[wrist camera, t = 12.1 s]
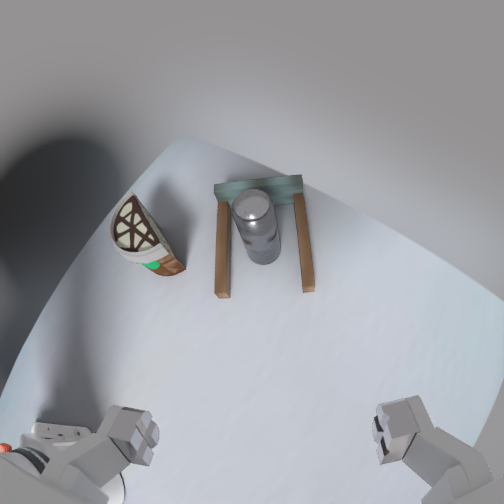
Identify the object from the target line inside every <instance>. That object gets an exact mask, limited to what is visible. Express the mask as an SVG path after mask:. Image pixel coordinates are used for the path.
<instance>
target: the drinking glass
mask: <svg viewBox="0 0 504 504" xmlns="http://www.w3.org/2000/svg"><path fill="white" fill-rule="evenodd" d="M231 212H232V215H233V218H234V220H235V223H236V225H237V228H238V230H239V233H240V235H241V238H242V240H243V243H244V245H245V248H246V250H247V253H248V255H249V257H250V259H251V260H252V261H253V262H255V263H257V264H260V265H266V264H270V263H272V262H274V261H275V260H276V259H277V258H278V256H279V254H280V251H281V247H280V241H279V235H278V228H277V222H276V216H275V210H274V204H273V200H272V198H271V197H270V195H269V194H267V193H266V192H264V191H261V190H258V189H249V190H246V191H243V192H242V193H240V194H239V195H238V196H237V197H236V198H235V199H234V201H233V203H232V206H231Z"/></svg>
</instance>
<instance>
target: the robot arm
mask: <svg viewBox="0 0 504 504" xmlns="http://www.w3.org/2000/svg"><path fill="white" fill-rule="evenodd" d="M376 413H377V416H376V417H374V419H373V424H372V432H373V438H374V441H375V442H376V443H378V444H379V446H378V448H377V454H378V458H379V462H380V465H381V464H386V463H391V462H395V461H399V460H402V461H403V462H404V463H405V464H406V465H407V466H408V467H409V468H411V469H412V470H413V471H414V472H415V473H416V474H417V475H419V476H420V477H421V478H422V479H423V480H424V481H425V482H427V483H428V484H429V485H430V486H431V487H432V488H431V489H430V490H429V491H428V492H427V494H426V495H425V496H424V497H423V498H422V504H504V474H503V475H501V476H499V477H498V478H496V479H493V477H492V474H491V472H490V470H489V467H488V465H487V463H486V460H485V458H484V456H483V454H482V453H481V452H479V451H477V450H476V449H474V448H472V447H471V446H469V445H467V444H465V443H464V442H462V441H460V440H459V439H457V438H455V437H454V436H452V435H450V434H449V433H447V432H445V431H444V430H442V429H440V428H439V427H435V428H434V426H433V424H432V422H431V420H430V418H429V415H428V413H427V411H426V409H425V407H424V404H423V402H422V400H421V398H420V397H419V396H418V395H416V396H412V397H409V398H405V399H404V398H403V399H399V400H395V401H390V402H386V403H381V404H378V406H377V408H376ZM151 419H152V415H151V414H150V412H149V411H145V410H139V409H133V408H128V407H123V406H117V405H113V406H112V407H111V408H110V409H109V411H108V413H107V414H106V416H105V418H104V420H103V421H102V423H101V425H100V427H99V428H98V430H97V432H96V434H95V433H91V431H90V430H89V429H88V428H87V427H80V426H68V425H58V424H50V423H42V422H35V423H34V424H33V426H32V429H31V434H23V435H22V436H21V437H20V440H19V448H18V449H15V450H12V447H11V446H10V445H9V444H6V443H1V444H0V448H1V452H0V504H123V501H124V486H123V482H122V479H121V476H120V474H119V473H120V472H121V471H122V470H124V469H125V468H126V467H127V466H128V465H129V464H130V463H133V464H138V465H143V466H149V465H150V463H151V460H152V457H153V455H154V453H153V451H152V448H154V447H155V446H156V445H157V444H158V441H159V428H158V426H157V424H156V423H155V422H153V421H152V420H151ZM79 433H80V434H79Z"/></svg>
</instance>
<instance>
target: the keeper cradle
mask: <svg viewBox="0 0 504 504" xmlns="http://www.w3.org/2000/svg"><path fill="white" fill-rule="evenodd" d="M249 189H258V190H261V191H264V192H266V193H267V194H269V195H270V197H271V198H272V200H273V204H274V205H281V204H292V203H294V208H295V217H296V226H297V235H298V244H299V254H300V265H301V275H302V287H303V293H304V292H314V288H315V283H314V273H313V264H312V255H311V247H310V239H309V231H308V223H307V216H306V209H305V202H304V195H303V181H302V175H291V176H281V177H271V178H262V179H253V180H245V181H237V182H229V183H222V184H214V194H215V196H216V199H217V201H218V212H217V233H216V259H215V292H214V293H215V294H216V295H217V296H218V297H219V298H230V242H231V206H232V203H233V201H234V199H235V198H236V197H237V196H238V195H239V194H240V193H242V192H243V191H246V190H249Z"/></svg>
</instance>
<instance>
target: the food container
mask: <svg viewBox="0 0 504 504" xmlns="http://www.w3.org/2000/svg"><path fill="white" fill-rule="evenodd" d="M110 235H111V239H112V242H113V244H114V246H115V248H116V249H117V251H118V253H119V254H120V255H121V256H122V257H123V258H125V259H126V260H128V261H130V262H134V263H140V264H142V265H143V266H145V267H147V268H148V269H150V270H151V271H153V272H154V273H156V274H158V275H162V276H172V275H176V274H178V273H181V272H182V271H184V270H186V268H185V267H184V265H183V264H182V262H181V260H180V259H179V257H178V256H177V254H176V252H175V251H174V249H173V247H172V246H171V244H170V242H169V241H168V239H167V238H166V236H165V234H164V233H163V231H162V229H161V228H160V226H159V225H158V224H157V223H156V221H155V220H154V219H153V218H152V216H151V215H150V214H149V213H148V211H147V210H146V209H145V207H144V206H143V205H142V204H141V202H140V201H139V200H138V198H137V196H136V195H135V194H134V193H133V192H132V191H130V192H128V193H127V194H126V195H125V196H124V197H123V198H122V199H121V201H120V202H119V203H118V205H117V206H116V208H115V210H114V212H113V214H112V217H111V221H110Z"/></svg>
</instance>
